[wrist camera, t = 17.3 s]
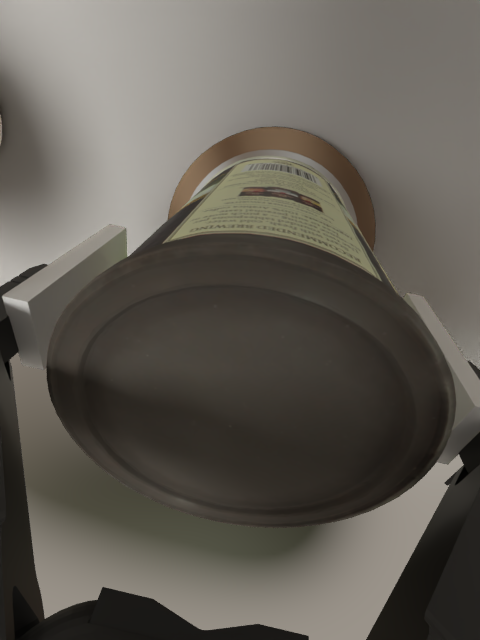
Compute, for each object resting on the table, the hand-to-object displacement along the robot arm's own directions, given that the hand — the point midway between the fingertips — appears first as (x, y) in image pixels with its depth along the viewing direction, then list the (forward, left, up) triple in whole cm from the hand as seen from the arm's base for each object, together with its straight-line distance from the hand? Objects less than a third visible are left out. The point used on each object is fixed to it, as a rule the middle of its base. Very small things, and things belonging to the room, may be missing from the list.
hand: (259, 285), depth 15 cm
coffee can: (0, 0, -6) cm, 6 cm away
